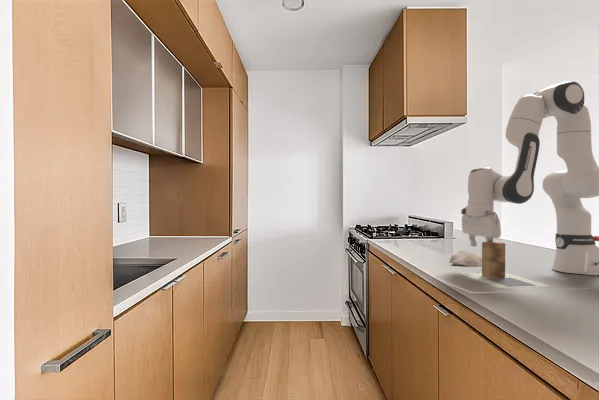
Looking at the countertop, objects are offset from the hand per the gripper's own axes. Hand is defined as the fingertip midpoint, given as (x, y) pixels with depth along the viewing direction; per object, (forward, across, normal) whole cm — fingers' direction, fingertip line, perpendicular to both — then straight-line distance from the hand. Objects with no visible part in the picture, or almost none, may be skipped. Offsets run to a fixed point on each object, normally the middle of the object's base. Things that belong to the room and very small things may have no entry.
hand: (480, 247), depth 154 cm
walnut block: (+9, -8, 0) cm, 12 cm away
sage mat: (+10, -13, 0) cm, 16 cm away
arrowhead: (+10, +28, -11) cm, 32 cm away
